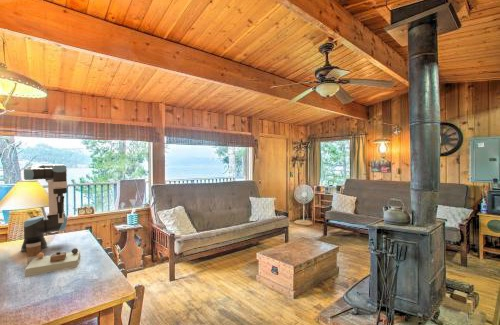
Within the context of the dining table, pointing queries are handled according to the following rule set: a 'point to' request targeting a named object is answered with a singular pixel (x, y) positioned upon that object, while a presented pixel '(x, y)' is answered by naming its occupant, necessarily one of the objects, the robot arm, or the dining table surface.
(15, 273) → the dining table surface
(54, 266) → the deck
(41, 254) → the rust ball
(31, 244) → the coffee cup
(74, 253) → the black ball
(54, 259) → the cover
